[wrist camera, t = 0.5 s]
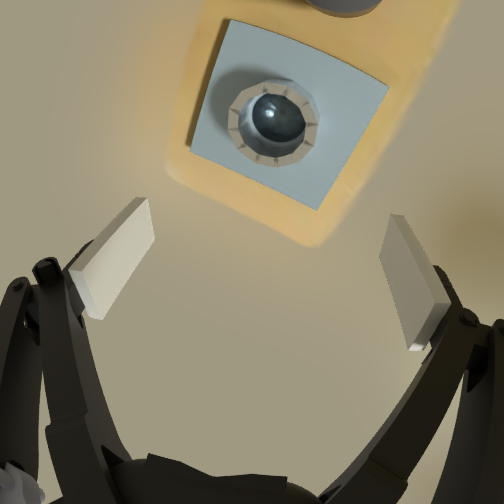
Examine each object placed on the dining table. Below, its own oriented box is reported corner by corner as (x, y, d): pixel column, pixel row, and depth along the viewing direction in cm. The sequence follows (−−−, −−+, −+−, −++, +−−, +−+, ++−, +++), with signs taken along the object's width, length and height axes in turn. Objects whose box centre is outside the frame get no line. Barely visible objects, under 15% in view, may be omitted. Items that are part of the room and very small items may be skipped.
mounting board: (235, 20, 27) (231, 19, 26) (387, 85, 28) (389, 87, 27) (194, 148, 41) (189, 151, 40) (317, 205, 42) (316, 210, 41)
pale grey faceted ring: (301, 67, 28) (295, 70, 25) (331, 142, 34) (329, 154, 30) (227, 96, 33) (213, 103, 30) (259, 162, 38) (250, 175, 35)
